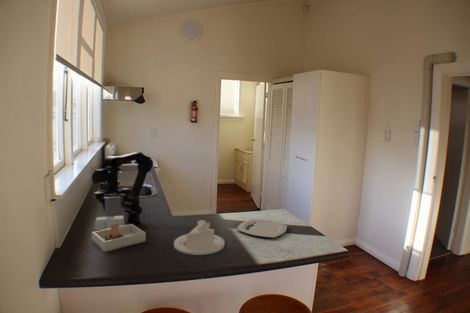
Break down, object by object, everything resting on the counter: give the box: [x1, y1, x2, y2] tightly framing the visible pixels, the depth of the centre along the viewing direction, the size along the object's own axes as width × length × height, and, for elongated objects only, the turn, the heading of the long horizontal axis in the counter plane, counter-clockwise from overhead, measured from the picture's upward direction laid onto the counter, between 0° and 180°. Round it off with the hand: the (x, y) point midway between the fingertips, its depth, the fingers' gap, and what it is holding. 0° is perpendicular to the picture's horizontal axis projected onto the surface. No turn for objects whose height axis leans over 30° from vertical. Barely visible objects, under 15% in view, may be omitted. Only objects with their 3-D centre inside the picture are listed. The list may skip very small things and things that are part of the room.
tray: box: [91, 223, 147, 253], centre depth 148 cm, size 20×16×4 cm
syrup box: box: [94, 214, 125, 231], centre depth 165 cm, size 6×6×14 cm
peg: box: [111, 223, 119, 239], centre depth 146 cm, size 4×4×8 cm
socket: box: [105, 233, 125, 241], centre depth 146 cm, size 7×7×2 cm
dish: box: [173, 219, 226, 256], centre depth 148 cm, size 25×25×11 cm
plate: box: [236, 218, 288, 239], centre depth 171 cm, size 27×27×2 cm
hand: (112, 209), depth 160 cm, fingers open, 9 cm apart
